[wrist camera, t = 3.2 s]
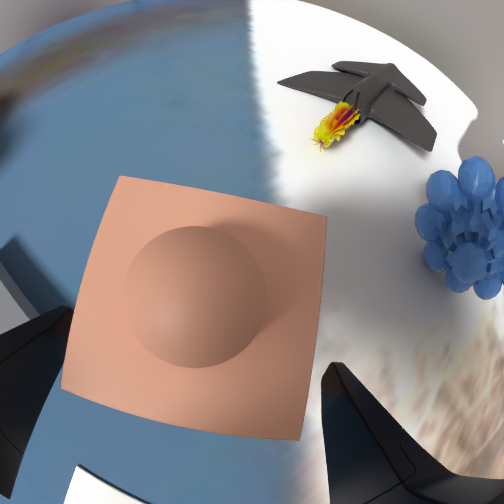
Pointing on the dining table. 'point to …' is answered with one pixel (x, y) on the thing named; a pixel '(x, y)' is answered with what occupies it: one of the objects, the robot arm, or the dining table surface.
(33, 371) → the robot arm
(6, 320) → the base plate
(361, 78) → the toy plane
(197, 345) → the tall brick
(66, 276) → the dining table surface
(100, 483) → the page
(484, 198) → the blue knobby flower
